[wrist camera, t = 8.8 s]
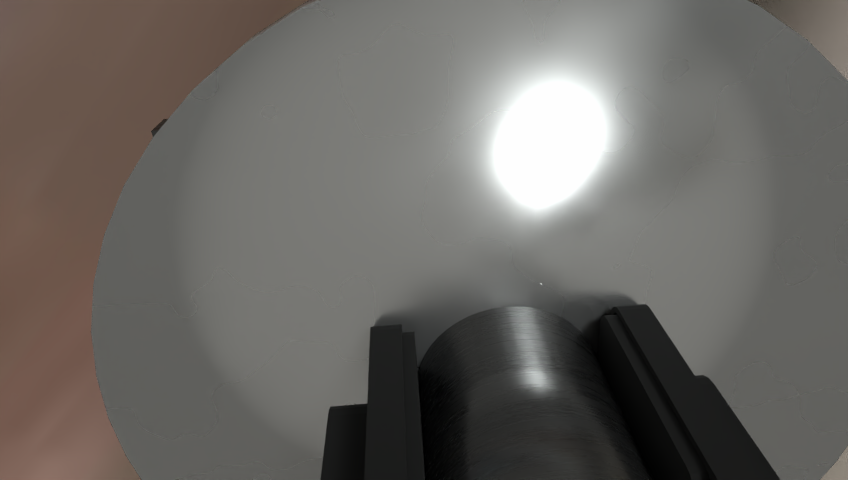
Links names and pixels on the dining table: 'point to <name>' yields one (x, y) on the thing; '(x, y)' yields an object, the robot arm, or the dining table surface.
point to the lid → (482, 236)
